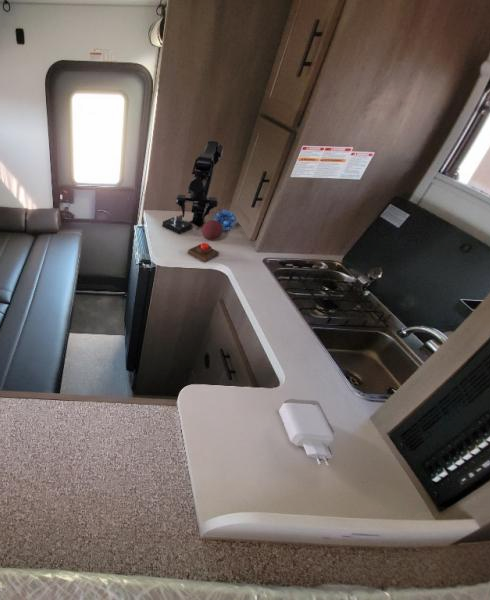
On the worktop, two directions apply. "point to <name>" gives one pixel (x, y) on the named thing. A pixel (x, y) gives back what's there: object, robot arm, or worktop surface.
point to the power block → (203, 253)
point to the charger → (308, 429)
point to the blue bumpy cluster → (226, 219)
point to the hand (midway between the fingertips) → (193, 217)
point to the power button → (204, 246)
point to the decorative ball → (212, 229)
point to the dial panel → (177, 226)
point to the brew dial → (178, 219)
